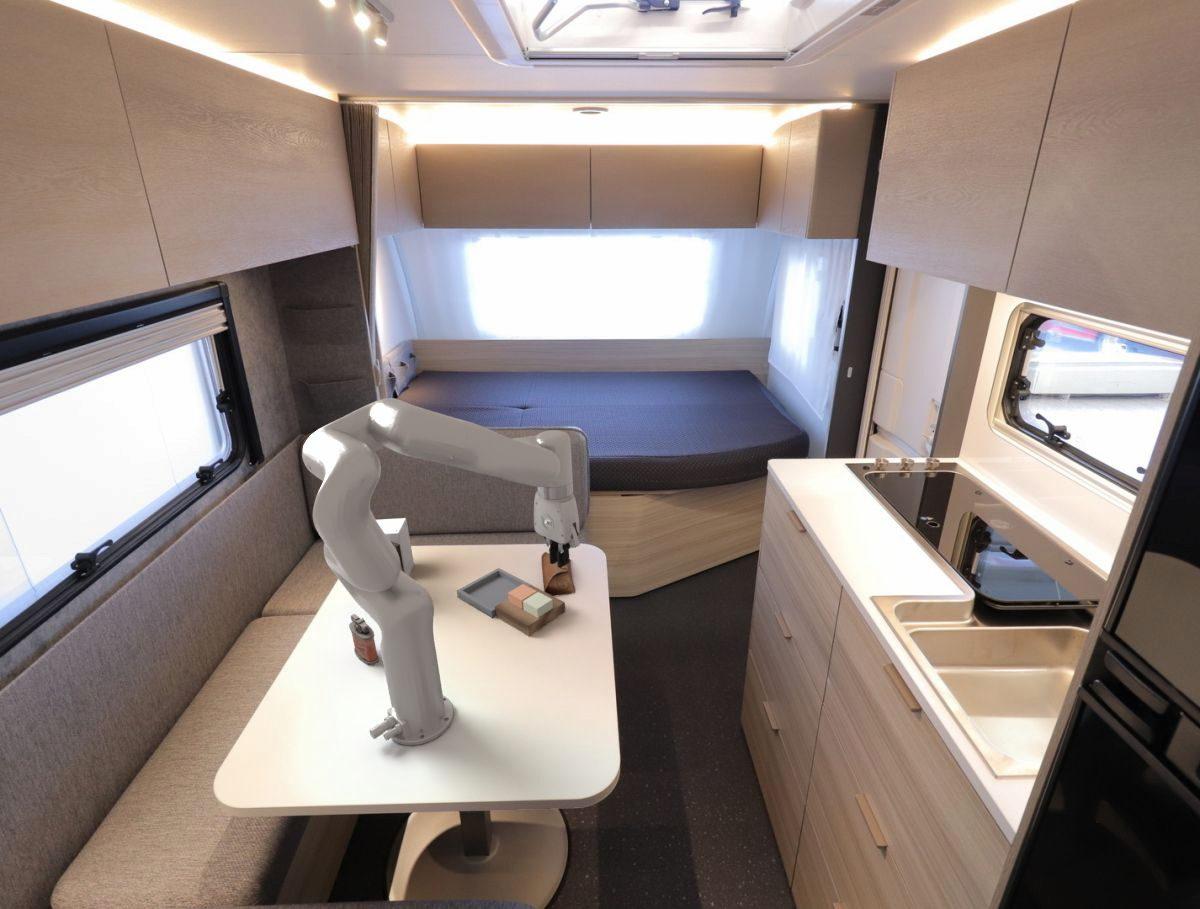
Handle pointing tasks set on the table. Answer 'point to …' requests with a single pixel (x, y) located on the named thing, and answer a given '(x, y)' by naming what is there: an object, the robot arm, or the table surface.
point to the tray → (489, 591)
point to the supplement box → (399, 539)
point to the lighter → (363, 641)
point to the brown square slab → (528, 615)
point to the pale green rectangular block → (537, 604)
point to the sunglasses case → (556, 577)
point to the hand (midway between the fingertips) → (559, 562)
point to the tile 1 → (520, 595)
